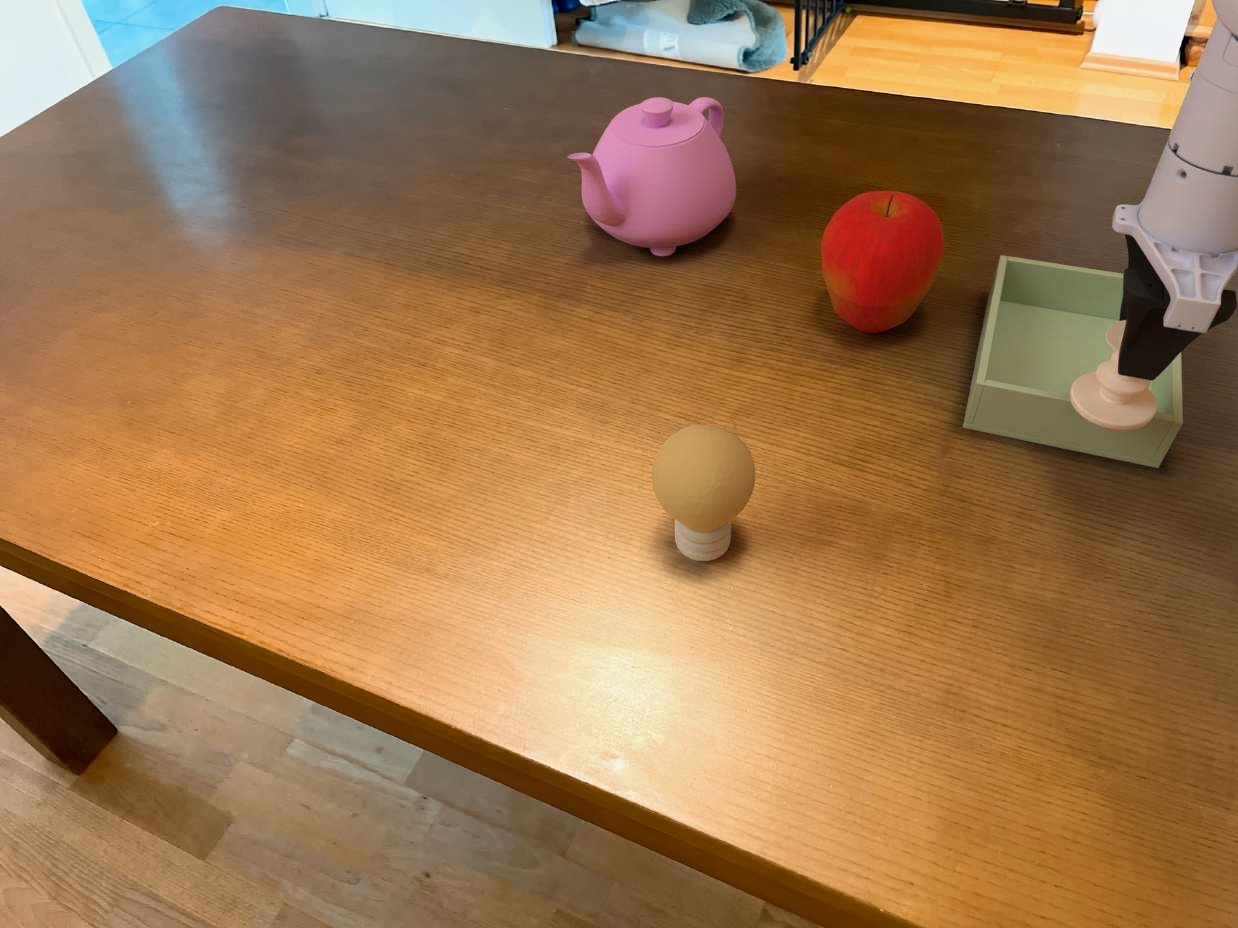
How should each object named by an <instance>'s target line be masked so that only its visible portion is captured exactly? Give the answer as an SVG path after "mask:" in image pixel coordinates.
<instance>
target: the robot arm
mask: <svg viewBox="0 0 1238 928" xmlns="http://www.w3.org/2000/svg"><path fill="white" fill-rule="evenodd" d="M1211 3H1212V6H1213V10H1214V12H1215V14H1216V19H1215V21H1214V24H1213V26H1212V29H1211V31H1210V34H1209V37H1208V39H1207V40H1206V41H1207V42H1206V43H1205V47H1204V49H1203V51H1202V53H1201V55H1200V58H1199V60H1198V62H1197V65H1196V68H1195V71H1194V72H1193V75H1192V78H1191V80H1190V83H1189V85H1188V87H1187V90H1186V93H1185V95H1184V97H1183V100H1182V103H1181V105H1180V108H1179V109H1178V113H1177V115H1176V117H1175V120H1174V122H1173V124H1172V128H1171V130H1170V132H1169V134H1168V138H1167V140H1166V143H1165V146H1164V149H1163V151H1162V153H1161V155H1160V158H1159V160H1158V163H1157V165H1156V167H1155V169H1154V170H1155V171H1154V173H1153V175H1152V178H1151V180H1150V183H1149V185H1148V188H1147V190H1146V193H1145V195H1144V197H1143V199H1142V201H1141V202H1140V203H1138V204H1126V203H1125V204H1124V203H1123V204H1119V205H1117V206H1116V207H1115V209H1114V211H1113V214H1112V218H1111V227H1112V230H1113V231H1114V232H1115V233H1118V234H1122V235H1124V236H1125V240H1126V241H1125V242H1126V247H1127V256H1128V259H1127V267H1125V268H1124V271H1123V273H1122V274H1123V297H1122V303H1121V309H1120V319H1119V321H1122V320H1126V325H1125V329H1124V334H1123V338H1122V342H1121V346H1120V351H1119V358H1118V374H1119V375H1123V376H1129V377H1134V378H1140V379H1145V380H1151V381H1152V380H1154V379H1156V378H1157V377H1158V376H1159V375H1160V374H1161V373H1162V372H1163V371H1164V370H1165V369H1166V368H1167V367H1168V365H1169V364H1170V363H1171V362H1172V361H1173V360H1174V359H1175V358H1176V357H1177V356H1178V355H1179V354H1180V353H1181V354H1182V352H1183V351H1184V350H1185V349H1186V348H1187V347H1188V346H1189V345H1190V344H1192V342H1193V341H1195V340H1196V339H1197V338H1199V337H1200V336H1202V335H1203V334H1206V333H1207V332H1208V331H1209V330H1212V329H1213V328H1215V327H1217V326H1220V325H1221V324H1223V323H1225V322H1227V321H1229V319H1230V318H1231V317H1232V316H1233V315H1234V313H1235V312H1236V310H1237V307H1238V302H1237V301H1238V299H1237V291H1236V290H1232V289H1225V288H1226V287H1227V286H1228V284H1229V282H1230V281H1231V280H1232V278H1233V277H1234V275H1235V274H1236V272H1237V270H1238V0H1211Z"/></svg>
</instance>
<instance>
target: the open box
mask: <svg viewBox="0 0 1238 928" xmlns="http://www.w3.org/2000/svg"><path fill="white" fill-rule="evenodd" d="M1123 274H1124V273H1121V272H1114V271H1108V270H1101V269H1095V268H1094V269H1093V268H1088V267H1081V266H1075V265H1068V264H1062V263H1055V262H1050V261H1049V262H1048V261H1042V260H1036V259H1029V258H1023V257H1016V256H1011V255H1004V254H1000V255H999V257H998V262H997V265H996V269H995V272H994V275H993V279H992V283H991V287H990V289H989V293H988V297H987V300H986V306H985V311H984V317H983V321H982V326H981V331H980V335H979V336H980V337H979V343H978V346H977V352H976V356H975V357H976V358H975V363H974V367H973V373H972V379H971V383H970V388H969V392H968V393H969V394H968V398H967V404H966V409H965V413H964V414H965V415H964V419H963V424H962V428H963V429H967V430H972V431H976V432H981V433H986V434H990V435H996V436H1001V437H1005V438H1010V439H1016V440H1021V441H1023V442H1024V441H1025V442H1030V443H1034V444H1039V445H1044V446H1048V447H1054V448H1058V449H1063V450H1068V451H1073V452H1077V453H1083V454H1088V455H1091V456H1097V457H1102V458H1107V459H1112V460H1116V461H1121V462H1127V463H1130V464H1136V465H1141V466H1145V467H1150V468H1155V469H1159V468H1160V466H1161V465H1162V462H1163V460H1164V459H1165V457H1166V455H1167V453H1168V451H1169V450H1170V448H1171V446H1172V444H1173V442H1174V441H1175V439H1176V436H1177V435H1178V434H1179V431H1180V429H1181V427H1182V426H1183V424H1184V414H1183V413H1184V411H1183V409H1184V408H1183V407H1184V406H1183V375H1182V374H1183V373H1182V371H1183V370H1182V369H1183V368H1182V352H1181V353H1180V354H1179V355H1178V356H1177V357H1176V358H1175V359H1174V360H1173V361H1172V362H1171V363H1170V364H1169V365H1168V367H1167V368H1166V369H1165V370H1164V371H1163V372H1162V373H1161V374H1160V375H1159V376H1158V377H1157V378H1156V379H1154V380H1152V381H1151V384H1150V386H1149V388H1148V389H1150V390H1151V392H1152V393H1153V395H1154V396H1155V398H1156V402H1157V411H1156V413H1155V415H1154V417H1153V418H1152V420H1151V421H1150V422H1149V423H1147V424H1146V425H1144V426H1142V427H1139V428H1136V429H1129V430H1116V429H1110V428H1106V427H1101V426H1099V425H1097V424H1094V423H1092V422H1090V421H1089V420H1087V419H1085V418H1084V417H1082V416H1081V415H1080V414H1079V413H1078V412H1077V411H1076V410H1075V408H1074V407H1073V405H1072V403H1071V401H1070V396H1069V394H1070V389H1071V386H1072V384H1073V383H1074V382H1075V380H1076V379H1077V378H1079V377H1080V376H1082V375H1084V374H1087V373H1090V372H1096V370H1097V367H1098V366H1099V365H1100V364H1101V363H1102V362H1104V361H1107V360H1110V359H1111V356H1112V353H1113V352H1114V351H1115V350H1114V349H1113V348H1112V347H1111V346H1110V345H1109V343H1108V342H1107V339H1106V331H1107V329H1108V328H1109V327H1110V326H1111V325H1112V324H1114V323H1116V322H1119V319H1120V309H1121V303H1122V297H1123Z"/></svg>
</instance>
